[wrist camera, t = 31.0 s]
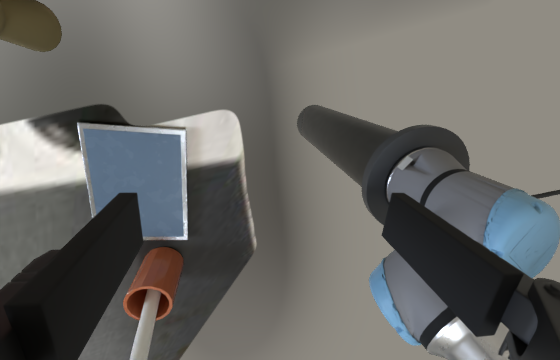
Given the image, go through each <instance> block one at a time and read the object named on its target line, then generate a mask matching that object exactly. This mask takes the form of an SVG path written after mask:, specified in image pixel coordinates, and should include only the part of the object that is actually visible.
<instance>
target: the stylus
mask: <svg viewBox="0 0 560 360" xmlns="http://www.w3.org/2000/svg"><path fill="white" fill-rule="evenodd" d="M160 296H161V292H160V291H158V290H154V289H147V293H146V297H145V301H144V305H143V309H142V313H141V317H140V321H139V325H138V329H137V333H136V337H135V341H134V345H133V349H132V352H131V356H130V360H147V357H148V353H149V348H150V343H151V338H152V334H153V329H154V324H155V320H156V315H157V310H158V305H159V301H160Z"/></svg>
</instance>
